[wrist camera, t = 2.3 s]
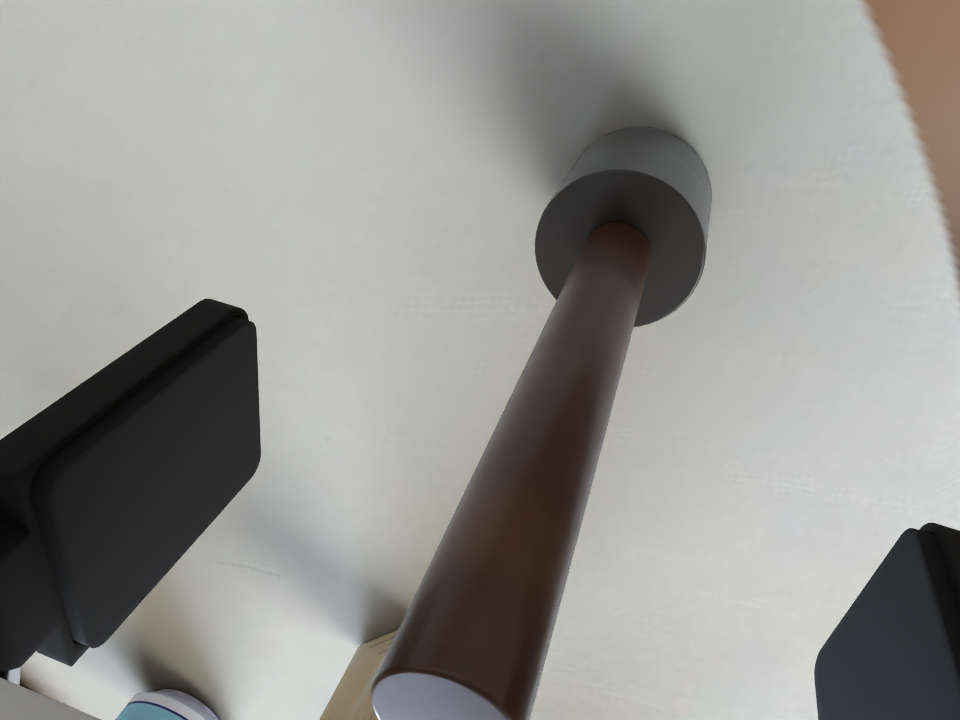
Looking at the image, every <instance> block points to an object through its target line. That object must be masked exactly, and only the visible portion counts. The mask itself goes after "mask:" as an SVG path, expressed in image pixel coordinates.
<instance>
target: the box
mask: <svg viewBox="0 0 960 720" xmlns="http://www.w3.org/2000/svg"><path fill="white" fill-rule="evenodd" d="M397 631H398V630H396V631H394V632H391V633H389V634H386V635H384V636H381V637H379V638H377V639H375V640H372V641H370V642H368V643H366V644H363V645H361V646H360V647H359V648H358V649H357V651H356V653H355V655H354V656H353V658H352V660H351V662H350V664H349V666H348V668H347V670H346V671H345V673H344V675H343V677H342V679H341V681H340V683H339V684H338V686H337V688H336V690H335V692H334V694H333V696H332V698H331V699H330V701H329V703H328V705H327V707H326V709H325V710H324V712H323V714H322V716H321V718H320V720H379V718H378V716H377V715H376V713H375V711H374V708H373V706H372V701H371V687H372V683H373V681H374V679H375V677H376V675H377V673H378V671H379V669H380V667H381V665H382V662H383V660H384V658H385V656H386V654H387V652H388V650H389V648H390V646H391V644H392V642H393V640H394V638H395V635H396V633H397Z"/></svg>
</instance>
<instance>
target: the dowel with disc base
mask: <svg viewBox="0 0 960 720" xmlns="http://www.w3.org/2000/svg"><path fill="white" fill-rule="evenodd" d="M711 201H712V190H711V183H710V179H709V176H708V172H707V170H706V168H705V166H704V164H703V162H702V160H701V159H700V157H699V156H698V155H697V153H696V152H695V151H694V150H693V149H692V148H691V147H690V146H689V145H688V144H687V143H685V142H684V141H683V140H681V139H680V138H678V137H676V136H675V135H672V134H670V133H668V132H665V131H662V130H659V129H654V128H648V127H633V128H626V129H622V130H618V131H615V132H612V133H610V134H607V135H606V136H604V137H602V138H600V139H599V140H597V141H596V142H595V143H593V144H592V145H591V146H590V147H589V148H588V149H587V150H585V152H584V153H583V154H582V155H581V157H580V158H579V159H578V161H577V162H576V164H575V165H574V167H573V168H572V170H571V171H570V173H569V174H568V176H567V177H566V179H565V180H564V181H563V183H562V184H561V186H560V187H559V189H558V190H557V192H556V193H555V195H554V196H553V198H552V199H551V201H550V202H549V204H548V205H547V207H546V209H545V210H544V212H543V214H542V216H541V219H540V221H539V224H538V228H537V231H536V238H535V255H536V262H537V266H538V269H539V272H540V275H541V277H542V279H543V281H544V283H545V285H546V287H547V288H548V290H549V291H550V292H551V294H552V295H553V296H554V298H555V299H556V300H557V301H556V303H555V305H554V307H553V310H552V312H551V314H550V316H549V318H548V320H547V322H546V324H545V326H544V328H543V330H542V332H541V334H540V337H539V339H538V341H537V343H536V345H535V347H534V349H533V351H532V353H531V355H530V357H529V359H528V361H527V364H526V366H525V368H524V370H523V372H522V374H521V376H520V378H519V380H518V382H517V384H516V386H515V388H514V391H513V393H512V395H511V397H510V399H509V401H508V403H507V405H506V407H505V409H504V411H503V413H502V415H501V418H500V420H499V422H498V424H497V426H496V428H495V430H494V432H493V434H492V436H491V438H490V440H489V442H488V444H487V447H486V449H485V451H484V453H483V455H482V457H481V459H480V461H479V463H478V465H477V467H476V469H475V471H474V474H473V476H472V478H471V480H470V482H469V484H468V486H467V488H466V490H465V492H464V494H463V496H462V498H461V501H460V503H459V505H458V507H457V509H456V511H455V513H454V515H453V517H452V519H451V521H450V523H449V525H448V528H447V530H446V532H445V534H444V536H443V538H442V540H441V542H440V544H439V546H438V548H437V550H436V552H435V554H434V557H433V559H432V561H431V563H430V565H429V567H428V569H427V571H426V573H425V575H424V577H423V579H422V581H421V584H420V586H419V588H418V590H417V592H416V594H415V596H414V598H413V600H412V602H411V604H410V606H409V608H408V611H407V613H406V615H405V617H404V619H403V621H402V623H401V625H400V627H399V629H398V631H397V633H396V635H395V638H394V640H393V642H392V644H391V646H390V648H389V650H388V652H387V654H386V656H385V658H384V660H383V662H382V665H381V667H380V669H379V671H378V673H377V675H376V677H375V679H374V681H373V683H372V687H371V701H372V706H373V708H374V711H375V713H376V715H377V716H378V718H379V720H530V717H531V713H532V709H533V705H534V701H535V698H536V694H537V690H538V686H539V682H540V679H541V675H542V671H543V667H544V664H545V660H546V656H547V652H548V648H549V645H550V641H551V637H552V633H553V629H554V626H555V622H556V618H557V614H558V611H559V607H560V603H561V599H562V595H563V592H564V588H565V584H566V580H567V576H568V573H569V569H570V565H571V561H572V557H573V554H574V550H575V546H576V542H577V539H578V535H579V531H580V527H581V523H582V520H583V516H584V512H585V508H586V504H587V501H588V497H589V493H590V489H591V486H592V482H593V478H594V474H595V470H596V467H597V463H598V459H599V455H600V451H601V448H602V444H603V440H604V436H605V433H606V429H607V425H608V421H609V417H610V414H611V410H612V406H613V402H614V398H615V395H616V391H617V387H618V383H619V379H620V376H621V372H622V368H623V364H624V361H625V357H626V353H627V349H628V345H629V342H630V338H631V334H632V330H633V327H639V326H643V325H647V324H650V323H653V322H655V321H658V320H660V319H662V318H664V317H666V316H668V315H669V314H671V313H672V312H674V311H675V310H677V309H678V308H679V307H680V306H681V305H682V304H683V303H684V302H685V301H686V300H687V299H688V298H689V297H690V295H691V294H692V293H693V291H694V289H695V288H696V286H697V284H698V282H699V280H700V278H701V275H702V272H703V268H704V265H705V257H706V248H707V239H708V229H709V220H710V210H711Z"/></svg>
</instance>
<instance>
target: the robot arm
mask: <svg viewBox="0 0 960 720" xmlns="http://www.w3.org/2000/svg"><path fill="white" fill-rule="evenodd" d="M260 457H261V445H260V417H259V390H258V362H257V335H256V327H255V325H254V323H253V322H251V321H249V320H248V315H247V313H246V311H244V310H243V309H242V308H238V307H235V306H232V305H229V304H225V303H222V302H219V301H216V300H212V299H204V300H202V301H200V302H198V303H197V304H195V305H194V306H193V307H191V308H190V309H188V310H187V311H185V312H184V313H182V314H181V315H180V316H178V317H177V318H175V319H174V320H172V321H171V322H170V323H168V324H167V325H165V326H164V327H162V328H161V329H159V330H158V331H157V332H155V333H154V334H152V335H151V336H149V337H148V338H146V339H145V340H144V341H142V342H141V343H139V344H138V345H136V346H135V347H133V348H132V349H131V350H129V351H128V352H126V353H125V354H123V355H122V356H121V357H119V358H118V359H116V360H115V361H113V362H112V363H110V364H109V365H108V366H106V367H105V368H103V369H102V370H100V371H99V372H97V373H96V374H95V375H93V376H92V377H90V378H89V379H87V380H86V381H85V382H83V383H82V384H80V385H79V386H77V387H76V388H74V389H73V390H72V391H70V392H69V393H67V394H66V395H64V396H63V397H61V398H60V399H59V400H57V401H56V402H54V403H53V404H51V405H50V406H49V407H47V408H46V409H44V410H43V411H41V412H40V413H38V414H37V415H36V416H34V417H33V418H31V419H30V420H28V421H27V422H25V423H24V424H23V425H21V426H20V427H18V428H17V429H15V430H14V431H13V432H11V433H10V434H8V435H7V436H5V437H4V438H2V439H1V440H0V720H100V719H98V718H96V717H93V716H91V715H89V714H86V713H84V712H82V711H79V710H77V709H75V708H73V707H70V706H68V705H66V704H63V703H61V702H58V701H56V700H53V699H51V698H49V697H46V696H44V695H41V694H39V693H36V692H34V691H32V690H29V689H27V688H24V687H22V686H19V684H20V675H21V666H22V665H23V664H24V663H25V662H26V661H27V660H28V659H29V658H30V657H31V656H32V655H33V653H34V652H35V651H36V650H37V652H38V653H41V654H43V655H45V656H48V657H50V658H52V659H55V660H57V661H59V662H62V663H64V664H66V665H69V666H71V667H72V666H73V665H74V663H75V662H76V661H77V660H78V659H79V658H80V657H81V656H82V655H83V653H84V652H85V651H86V650H87V649H88V648H89V647H91V648H96V647H99V646H100V645H102V644H103V643H104V642H106V641H107V640H108V639H109V638H110V637H111V635H112V634H113V633H114V632H115V631H116V630H117V629H118V627H119V626H120V625H121V624H122V623H123V622H124V621H125V620H126V618H127V617H128V616H129V615H130V614H131V613H132V612H133V611H134V609H135V608H136V607H137V606H138V605H139V604H140V603H141V602H142V600H143V599H144V598H145V597H146V596H147V595H148V594H149V593H150V591H151V590H152V589H153V588H154V587H155V586H156V585H157V584H158V582H159V581H160V580H161V579H162V578H163V577H164V576H165V575H166V573H167V572H168V571H169V570H170V569H171V568H172V567H173V566H174V564H175V563H176V562H177V561H178V560H179V559H180V558H181V557H182V555H183V554H184V553H185V552H186V551H187V550H188V549H189V547H190V546H191V545H192V544H193V543H194V542H195V541H196V540H197V538H198V537H199V536H200V535H201V534H202V533H203V532H204V531H205V529H206V528H207V527H208V526H209V525H210V524H211V523H212V522H213V520H214V519H215V518H216V517H217V516H218V515H219V514H220V513H221V511H222V510H223V509H224V508H225V507H226V506H227V505H228V504H229V502H230V501H231V500H232V499H233V498H234V497H235V496H236V495H237V493H238V492H239V491H240V490H241V489H242V488H243V487H244V486H245V484H246V483H247V482H248V481H249V480H250V479H251V478H252V476H253V475H254V473H255V472H256V470H257V467H258V465H259V462H260ZM814 674H815V688H816V699H817V709H818V719H819V720H960V531H958V530H955V529H952V528H948V527H945V526H942V525H939V524H936V523H927V524H925V525H924V526H922V527H921V528H920V530H917V529H913V528H909V529H907V530H905V531H904V533H903V534H902V535H901V536H900V538H899V539H898V540H897V542H896V543H895V545H894V546H893V548H892V549H891V550H890V552H889V553H888V555H887V556H886V557H885V559H884V560H883V562H882V563H881V565H880V566H879V567H878V569H877V570H876V572H875V573H874V574H873V576H872V577H871V579H870V580H869V582H868V583H867V584H866V586H865V587H864V589H863V590H862V592H861V593H860V594H859V596H858V597H857V599H856V600H855V601H854V603H853V604H852V606H851V607H850V609H849V610H848V611H847V613H846V614H845V616H844V617H843V618H842V620H841V621H840V623H839V624H838V626H837V627H836V628H835V630H834V631H833V633H832V634H831V635H830V637H829V638H828V640H827V641H826V643H825V644H824V645H823V647H822V648H821V650H820V652H819V654H818V657H817V660H816V664H815V672H814Z"/></svg>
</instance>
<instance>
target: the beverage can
mask: <svg viewBox="0 0 960 720" xmlns="http://www.w3.org/2000/svg"><path fill="white" fill-rule="evenodd" d="M116 720H218V718H217V717H216V716H215V714H214V713H213V712H212V711H211V710H210V709H209V708H208V707H207V706H206V705H204V704H203V703H202V702H200V701H199V700H197V699H196V698H194V697H192V696H190V695H189V694H186V693H184V692H181V691H178V690H174V689H162V690H160V691H157V692H142V693H139V694H136V695H135V696H134V697H133V698H132V699H131V700H130V702H129V703H128V704H127V706H126V707H125V708H124V709H123V711H122V712H121V713H120V715H119V716H118V717H117V718H116Z"/></svg>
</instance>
